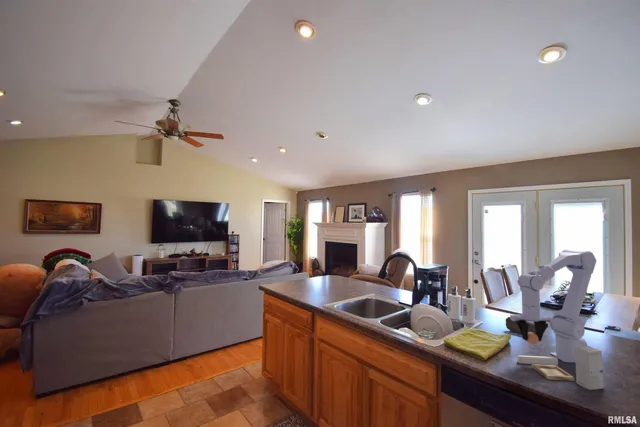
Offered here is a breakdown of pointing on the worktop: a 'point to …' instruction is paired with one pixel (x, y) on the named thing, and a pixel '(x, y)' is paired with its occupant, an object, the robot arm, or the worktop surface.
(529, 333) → the ball
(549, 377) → the tray
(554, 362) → the bar
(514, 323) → the perforated stone tool
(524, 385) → the worktop surface
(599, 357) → the skincare box
